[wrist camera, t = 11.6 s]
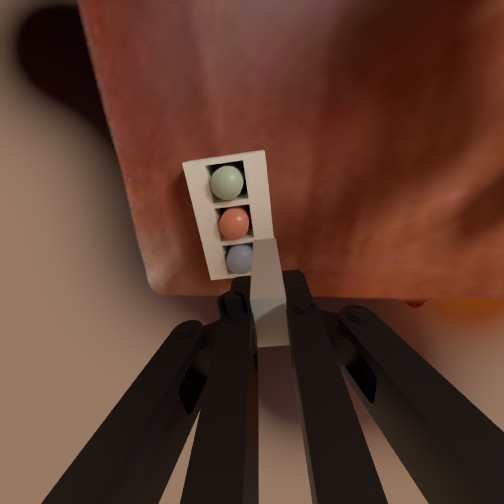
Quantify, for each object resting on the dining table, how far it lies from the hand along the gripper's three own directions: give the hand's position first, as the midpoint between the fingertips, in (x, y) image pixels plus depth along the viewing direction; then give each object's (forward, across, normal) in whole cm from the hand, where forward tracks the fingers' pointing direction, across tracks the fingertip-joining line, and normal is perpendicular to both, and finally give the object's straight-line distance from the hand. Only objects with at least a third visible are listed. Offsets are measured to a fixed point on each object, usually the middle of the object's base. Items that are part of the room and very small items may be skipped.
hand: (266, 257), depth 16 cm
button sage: (+26, -5, +2) cm, 27 cm away
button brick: (+26, -5, -4) cm, 27 cm away
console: (+26, -5, -4) cm, 27 cm away
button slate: (+26, -5, -10) cm, 29 cm away
